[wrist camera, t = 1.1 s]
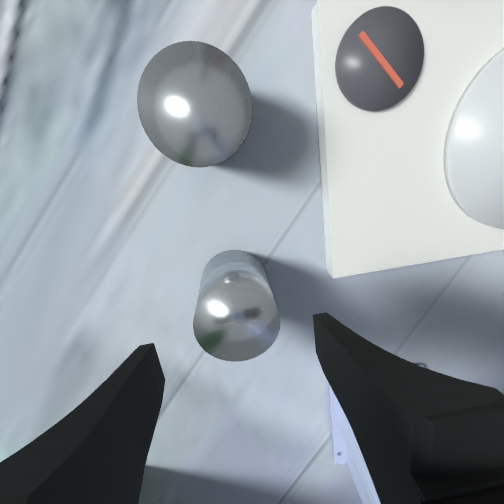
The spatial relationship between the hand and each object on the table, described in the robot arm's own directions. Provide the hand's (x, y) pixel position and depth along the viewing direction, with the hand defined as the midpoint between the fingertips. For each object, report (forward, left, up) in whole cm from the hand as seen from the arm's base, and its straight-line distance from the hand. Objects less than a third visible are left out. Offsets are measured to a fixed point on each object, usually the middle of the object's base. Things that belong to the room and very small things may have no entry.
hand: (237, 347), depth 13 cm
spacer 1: (+10, 0, -7) cm, 12 cm away
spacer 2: (0, 0, -7) cm, 7 cm away
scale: (+7, -16, -7) cm, 19 cm away
